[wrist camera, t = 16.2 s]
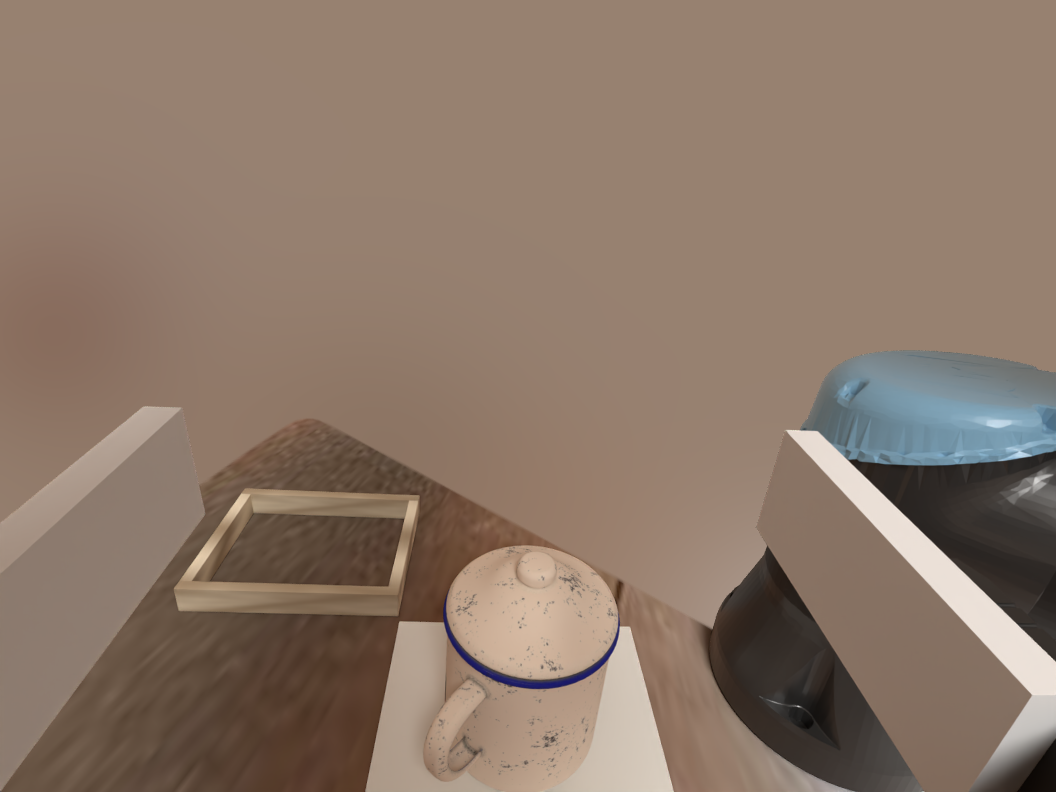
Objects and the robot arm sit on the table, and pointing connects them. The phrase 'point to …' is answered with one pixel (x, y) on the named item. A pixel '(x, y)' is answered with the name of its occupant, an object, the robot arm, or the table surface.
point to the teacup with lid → (522, 669)
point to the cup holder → (298, 598)
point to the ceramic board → (409, 788)
